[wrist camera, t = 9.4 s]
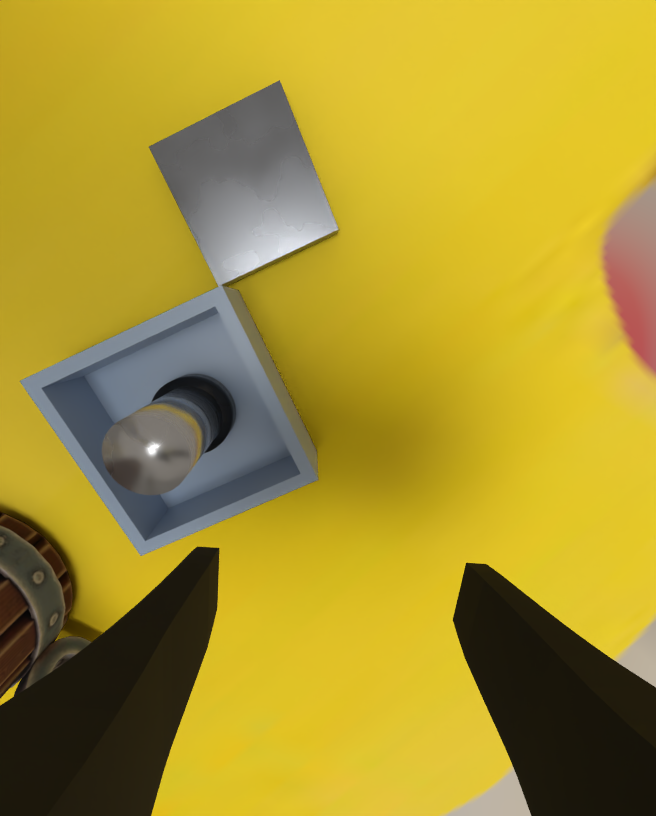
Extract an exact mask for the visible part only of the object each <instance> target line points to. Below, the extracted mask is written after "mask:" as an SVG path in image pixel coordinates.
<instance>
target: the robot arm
mask: <svg viewBox="0 0 656 816" xmlns="http://www.w3.org/2000/svg"><path fill="white" fill-rule="evenodd" d="M218 571H219V548H209V547H196V548H195V549H194V550H193V551H192V552H191V553H190V554H189V555H188V556H187V557H186V558H185V559H184V560H183V561H182V562H181V563H180V564H179V565H178V566H177V567H176V568H175V569H174V570H173V571H172V572H171V573H170V574H169V575H168V576H167V577H166V578H165V579H164V580H163V581H162V582H161V583H160V584H159V585H158V586H157V587H155V588H154V589H153V590H152V591H151V592H150V593H149V594H148V595H147V596H146V597H145V598H144V599H143V600H142V601H140V602H139V603H138V604H137V605H136V606H135V607H134V608H132V609H131V610H130V611H129V612H128V613H127V614H125V615H124V616H123V617H122V618H121V619H120V620H118V621H117V622H116V623H115V624H114V625H113V626H111V627H110V628H109V629H108V630H107V631H105V632H104V633H103V634H102V635H100V636H99V637H98V638H97V639H95V640H94V641H93V642H92V643H90V644H89V645H88V646H86V647H85V648H84V649H82V650H81V651H80V652H78V653H77V654H76V655H74V656H73V657H72V658H70V659H69V660H68V661H66V662H65V663H63V664H62V665H61V666H59V667H58V668H56V669H55V670H53V671H52V672H51V673H49V674H47V675H46V676H44V677H43V678H41V679H40V680H38V681H37V682H35V683H34V684H32V685H31V686H29V687H28V688H26V689H25V690H23V691H22V692H20V693H19V694H17V695H16V696H14V697H13V698H11V699H10V700H8V701H7V702H5V703H4V704H2V705H0V816H151V814H152V810H153V807H154V803H155V800H156V796H157V792H158V789H159V785H160V782H161V778H162V775H163V771H164V768H165V765H166V762H167V759H168V756H169V753H170V750H171V747H172V744H173V741H174V738H175V735H176V733H177V730H178V727H179V724H180V722H181V719H182V716H183V713H184V711H185V708H186V705H187V702H188V700H189V697H190V694H191V691H192V689H193V686H194V683H195V681H196V678H197V675H198V672H199V669H200V667H201V664H202V661H203V658H204V655H205V653H206V650H207V647H208V643H209V639H210V635H211V631H212V627H213V623H214V619H215V615H216V611H217V600H218ZM453 622H454V625H455V628H456V632H457V635H458V638H459V641H460V644H461V647H462V650H463V653H464V656H465V659H466V661H467V664H468V666H469V668H470V671H471V673H472V675H473V677H474V680H475V682H476V684H477V686H478V689H479V691H480V693H481V695H482V697H483V700H484V702H485V704H486V706H487V708H488V711H489V713H490V715H491V717H492V720H493V722H494V724H495V726H496V728H497V731H498V733H499V735H500V737H501V739H502V742H503V744H504V746H505V748H506V751H507V753H508V755H509V758H510V760H511V762H512V765H513V767H514V770H515V772H516V774H517V777H518V780H519V783H520V785H521V788H522V791H523V794H524V796H525V799H526V802H527V804H528V807H529V810H530V813H531V816H656V688H655V687H654V686H652V685H651V684H649V683H648V682H646V681H645V680H643V679H642V678H640V677H639V676H637V675H636V674H634V673H632V672H631V671H629V670H628V669H626V668H625V667H623V666H622V665H620V664H619V663H617V662H616V661H614V660H613V659H611V658H610V657H608V656H607V655H605V654H604V653H603V652H601V651H600V650H598V649H597V648H596V647H594V646H593V645H591V644H590V643H589V642H587V641H586V640H585V639H583V638H582V637H580V636H579V635H578V634H576V633H575V632H574V631H572V630H571V629H570V628H568V627H567V626H566V625H564V624H563V623H562V622H560V621H559V620H558V619H556V618H555V617H554V616H552V615H551V614H550V613H549V612H547V611H546V610H545V609H543V608H542V607H541V606H540V605H538V604H537V603H536V602H535V601H533V600H532V599H531V598H530V597H528V596H527V595H526V594H525V593H523V592H522V591H521V590H519V589H518V588H517V587H516V586H514V585H513V584H512V583H511V582H509V581H508V580H507V579H506V578H504V577H503V576H502V575H500V574H499V573H498V572H496V571H495V570H494V569H492V568H491V567H489V566H488V565H487V564H475V563H466V566H465V570H464V575H463V579H462V583H461V587H460V592H459V596H458V600H457V604H456V609H455V613H454V617H453Z"/></svg>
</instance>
